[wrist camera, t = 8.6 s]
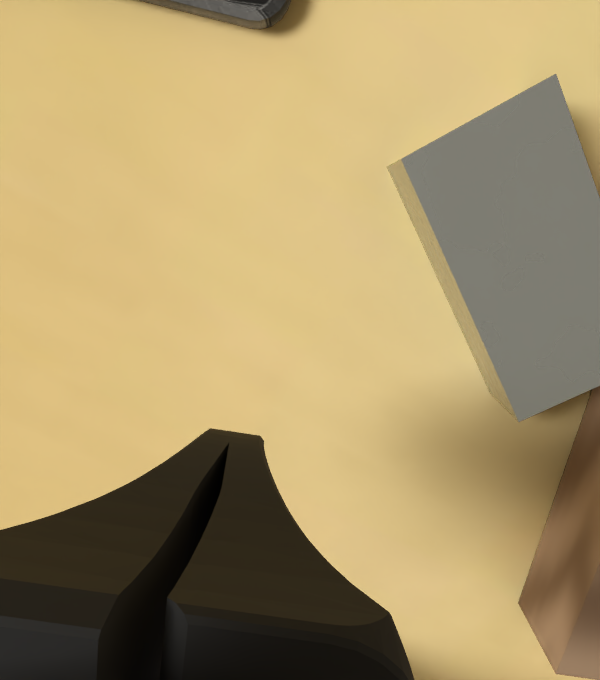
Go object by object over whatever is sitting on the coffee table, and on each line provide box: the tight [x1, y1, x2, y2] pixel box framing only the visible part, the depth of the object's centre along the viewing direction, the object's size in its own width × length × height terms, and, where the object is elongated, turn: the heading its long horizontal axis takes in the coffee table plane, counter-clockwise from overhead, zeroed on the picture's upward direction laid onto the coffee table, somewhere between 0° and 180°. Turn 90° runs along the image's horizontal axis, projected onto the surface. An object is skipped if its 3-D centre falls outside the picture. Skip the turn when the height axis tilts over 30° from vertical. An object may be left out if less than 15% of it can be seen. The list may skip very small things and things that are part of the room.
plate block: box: [387, 74, 600, 422], centre depth 17 cm, size 10×5×3 cm, turn 28°
